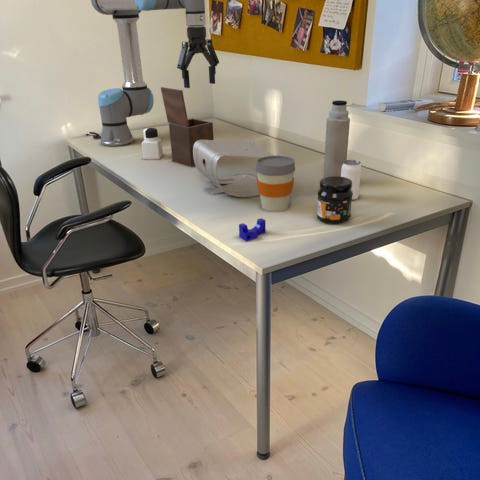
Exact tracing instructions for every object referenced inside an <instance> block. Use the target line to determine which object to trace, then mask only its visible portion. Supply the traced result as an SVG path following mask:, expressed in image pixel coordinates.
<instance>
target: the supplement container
mask: <svg viewBox="0 0 480 480" xmlns="http://www.w3.org/2000/svg"><path fill="white" fill-rule="evenodd" d="M351 188H352V181H351V180H350V179H348V178H345V177H339V176H332V177H326V178H323V177H322V178H321V179H320V180H319V189H318V191H317V202H316V203H317V205H316V218H317V219H318V220H319V221H320V222H322V223H323V224H328V225H341V224H345V223H347V222H348V221H350V219H351V216H352V205H353V204H352V202H353V200H352V196H353V191H352V190H351Z"/></svg>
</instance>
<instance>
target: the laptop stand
mask: <svg viewBox="0 0 480 480" xmlns="http://www.w3.org/2000/svg"><path fill="white" fill-rule="evenodd" d="M266 156H280V153H279V152H276V154H275V155H274V154H273V153H271V152H269V151H267V150H265V149H264V148H261V147H260V146H258V145H256V144H255V140H254V139H251V142H250V141H237V140H236V141H233V140H216V139H214V140H198V141H196V142H195V143H194V146H193V158H194V162H195V165H196V166H195V168H196V169H197V170H198V172H199V173H200V174H201V175H203V176H204V177H205V178H206V179H207V180H209V181H210V182H211V183H213V184H214V185H215V186H210V187H207V188H206V191H208V192H209V193H210V194H212V195H219V194H225V193H226V194H227V195H229V196H231V197H237V198H253V197H258V196H259V197H260V194H259V192H258V186H257V177H258V176H255V175H251V174H247V173H246V174H238V175H237V174H236V175H230V176H224V177H220V176H219V177H218V162H219V160H220V159H221V158H223V157H230V158H231V157H234V158H251V159H259V158H262V157H266ZM203 159H205V162H206V163H205V165H204V163H203Z"/></svg>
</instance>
